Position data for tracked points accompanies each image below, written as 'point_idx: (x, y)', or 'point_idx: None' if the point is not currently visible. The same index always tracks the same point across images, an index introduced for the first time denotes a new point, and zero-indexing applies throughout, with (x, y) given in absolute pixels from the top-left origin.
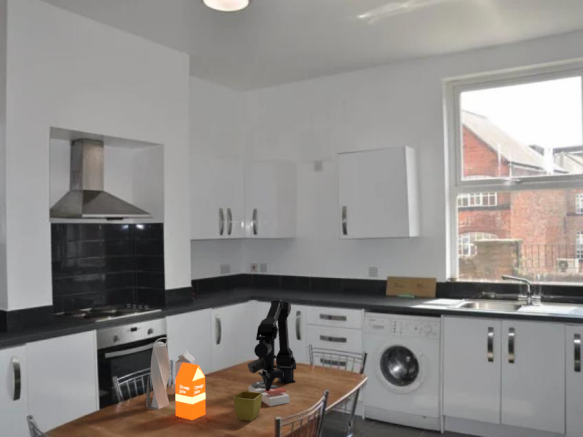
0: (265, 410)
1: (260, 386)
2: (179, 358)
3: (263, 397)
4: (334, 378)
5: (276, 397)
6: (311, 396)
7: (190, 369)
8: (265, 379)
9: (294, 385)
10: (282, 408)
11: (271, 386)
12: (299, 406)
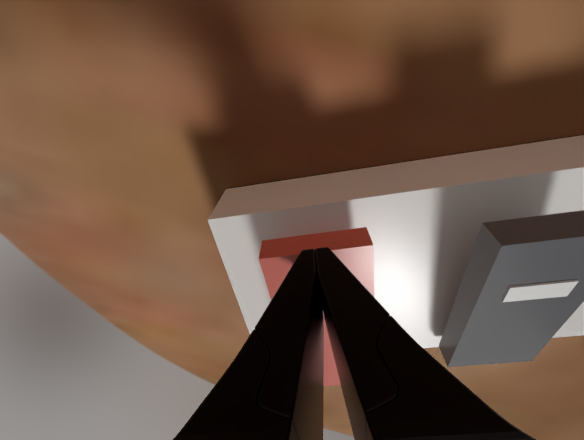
0: (120, 121)
1: (550, 229)
2: None
3: (366, 184)
4: None
5: (237, 280)
6: (330, 412)
7: None
8: (249, 421)
9: (561, 408)
10: (158, 254)
11: (477, 330)
12: (183, 338)
